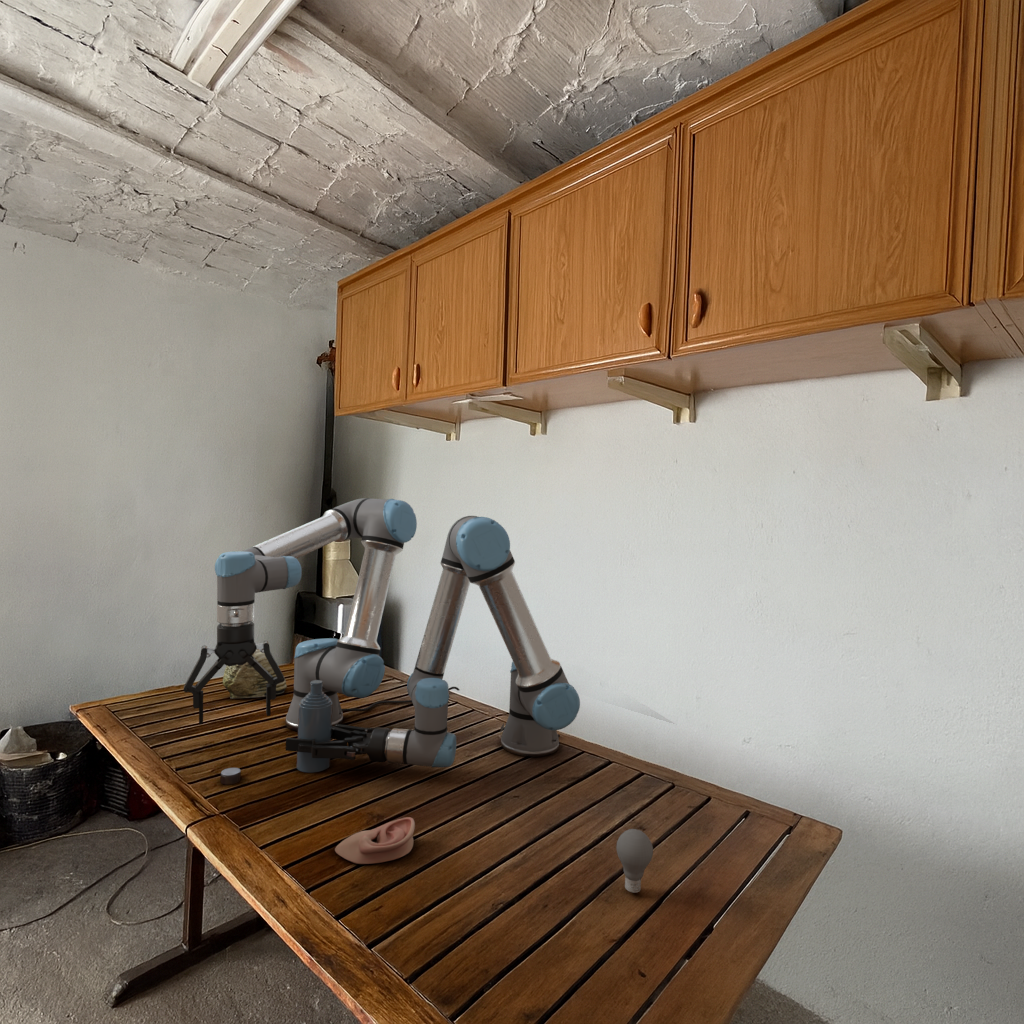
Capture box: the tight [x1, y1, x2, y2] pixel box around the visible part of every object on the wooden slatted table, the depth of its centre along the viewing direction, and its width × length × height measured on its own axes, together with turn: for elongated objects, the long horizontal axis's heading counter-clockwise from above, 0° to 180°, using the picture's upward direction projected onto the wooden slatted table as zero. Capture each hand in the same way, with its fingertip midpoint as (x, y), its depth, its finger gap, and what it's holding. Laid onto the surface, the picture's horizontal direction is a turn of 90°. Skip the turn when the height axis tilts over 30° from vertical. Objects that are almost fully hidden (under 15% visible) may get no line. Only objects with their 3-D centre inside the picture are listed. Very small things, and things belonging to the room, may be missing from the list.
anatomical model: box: [334, 816, 416, 865], centre depth 115 cm, size 13×4×12 cm
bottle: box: [296, 680, 332, 774], centre depth 149 cm, size 8×8×20 cm
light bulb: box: [615, 828, 654, 894], centre depth 106 cm, size 6×6×10 cm
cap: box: [219, 767, 242, 786], centre depth 139 cm, size 4×4×2 cm
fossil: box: [222, 649, 288, 699], centre depth 198 cm, size 9×18×15 cm, turn 132°
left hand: (235, 718), depth 140 cm, fingers open, 13 cm apart
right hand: (294, 737), depth 149 cm, fingers closed on bottle, 7 cm apart
